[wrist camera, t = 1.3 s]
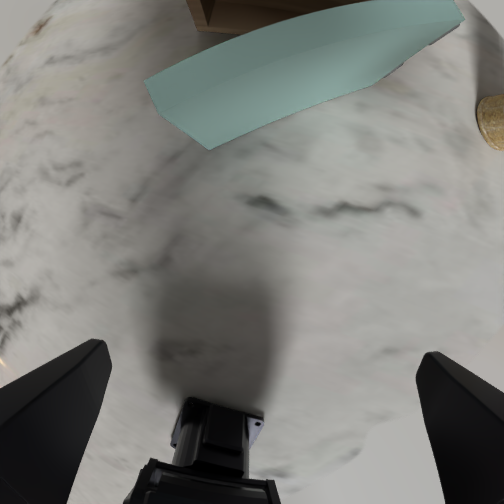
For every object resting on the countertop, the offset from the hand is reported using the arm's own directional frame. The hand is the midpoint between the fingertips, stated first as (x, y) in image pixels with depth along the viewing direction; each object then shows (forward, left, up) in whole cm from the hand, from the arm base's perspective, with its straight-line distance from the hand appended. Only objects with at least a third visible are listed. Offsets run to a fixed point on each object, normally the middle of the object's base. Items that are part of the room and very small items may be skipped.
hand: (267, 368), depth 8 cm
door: (+10, +1, -12) cm, 16 cm away
